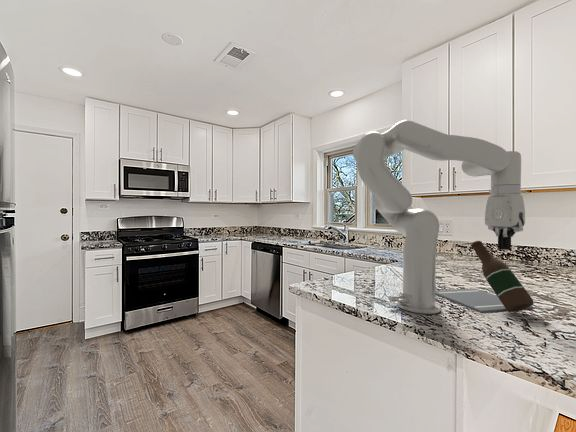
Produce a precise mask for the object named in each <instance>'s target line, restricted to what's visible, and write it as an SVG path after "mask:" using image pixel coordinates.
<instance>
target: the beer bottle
mask: <svg viewBox="0 0 576 432" xmlns="http://www.w3.org/2000/svg"><path fill="white" fill-rule="evenodd" d="M470 246H471V249H473V250H474V252H475V253H476V255H477V257H478V258H479V260H480V262H481V270H482V274H483V276H484V278H485V279H486V281H487V283H488V284H489V286H490V287H491V289H492V291H493V292H494V295H497V296H498V298H499V299H500V301H501V302H502V304H503V305H504V307H505V308H506V309H507V312H508V313H517V312H520V311H524V310H528V309H527V308H529V307H530V306H532V307H533V306H534V299H533V298H532V296H531V295H530V293H529V292H528V291H527V290H526V289H525V287H524V286H523V284H522V283H521V281H519V279H518V278H517V276H516V275H515V274H514V272H513V271H512V270H511V269H510V267H509V266H508V264H506V263H505V262H503V261H502V260H499V259H496V258H495V257H494V256H493V255H492V254H491V253H490V252H489V251H488V249H487V248H486V247H485V245H483V242H482V241H481V240H476V241H473V242H472V243H471V244H470Z"/></svg>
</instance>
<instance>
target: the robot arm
mask: <svg viewBox="0 0 576 432" xmlns="http://www.w3.org/2000/svg"><path fill="white" fill-rule="evenodd" d="M404 150H405V151H408V152H411V153H414V154H417V155H419V156H421V157H423V158H426V159H429V160H432V161H439V162H441V161H445V162H447V161H459V162H461V170H462V172H463V173H464V174H466V175H467V176H470V177H482V176H483V177H484V176H490V189H489V190H488V193H489V194H490V196H488V197H487V199H486V205H485V212H484V225H485V226H487V229H488V230H490V231H493V232H494V233H495V237H497V249H498V250H502V251H503V250H504V251H507V250H508V251H509V250H511V249H512V237H514V236H515V234H516V233H521V232H523V231H524V226H525V224H526V208H525V201H524V197H523V195H522V194H521V193H522V192H521V191H522V189H521V188H522V187H521V186H522V185H521V183H522V182H521V181H522V154H521V153H520V152H519V151H514V150H509V151H506V149H504V148H503V147H501V146H499V145H498V144H495V143H492V142H489V141H488V140H484V139H481V138H478V137H473V136H462V135H457V134H456V135H455V134H447V133H444V132H441V131H439V130H436V129H434V128H431V127H428V126H425V125H423V124H420V123H418V122H416V121H413V120H410V119H409V120H407V119H404V120H401V121H398V122H397V123H395V125H393V126H392V127H391V128H390V129H388V130H386V131H384V132H383V133H380V132H377V131H369V132H367V133H365V134H364V135H363V136H362V137H361V138H360V139H359V140H358V141H357V143H356V144H355V145H354V147H353V150H352V156H353V158H354V160H355V161H356V166H357V167H356V168H357V171H358V176H359V177H360V180H361V181H362V182H363V184H364V185H365V186H366V188H368V190H369V191H370V193H371V194H373V195H374V196H373V203H374V206H375V209H376V210H377V211H378V213H379V214H380V215H381V216H382V217H383V218H384V219H385V220H386V221H387V223H388V224H389V225H391V226H392V228H393V229H395V231H396V232H397V233H399V234H401V235H402V236H405V237H404V242H403V248H402V249H403V250H402V291H399V294H397V295H389V296H388V301H389V302H390V303H393V302H394V303H395V302H397V306H398V307H399V309H402V310H404V311H407V312H410V313H416V314H421V315H422V314H424V315H431V314H432V315H433V314H438V313H440V312H441V310H442V307H441V305H440V304H439V303H436V294H435V291H437V290H436V288H437V287H436V285H437V284H436V280H437V279H436V278H437V274H436V273H437V256H436V255H437V243H438V238H439V232H440V221H439V219H438V216H437V215H436V214H435V213H434V212H433V211H431V210H430V209H426V208H413V207H412V205H413V196H412V194H411V192H410V191H409V189H407V187H405V186H404V184H403V183H402V182H401V181H400V180H399V179H397V177H396V176H395V175H394V174H393V173H392V172H391V170H390V169H389V168H388V166H387V164H386V161H385V159H386V158H389V157H391V156H393V155H396V154H398V153H401V152H402V151H404Z"/></svg>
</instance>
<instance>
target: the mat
mask: <svg viewBox="0 0 576 432" xmlns="http://www.w3.org/2000/svg"><path fill="white" fill-rule="evenodd" d="M435 296H439V297H441V298H443V299H446V300H449V301H450V302H453V303H456V304H458V305H461V306H463V307H465V308H468V309H470V310H474V311H476V312H479V313H480V314H481V313H493V312H505V311H507V309H506V308H505V307H504V305H503V304H502V302H501V301H500V299H499V298H498V296H497V295H496V294H495V293H494V294H493V293H490V292H487V291H483V290H482V289H481V290H480V289H478V288H464V289H463V288H459V289H458V288H457V289H443V290H441V289H440V290H435ZM532 309H534V306H533V305H532V306H530V307H529V308H527V309H526V310H532ZM507 312H508V311H507Z"/></svg>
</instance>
